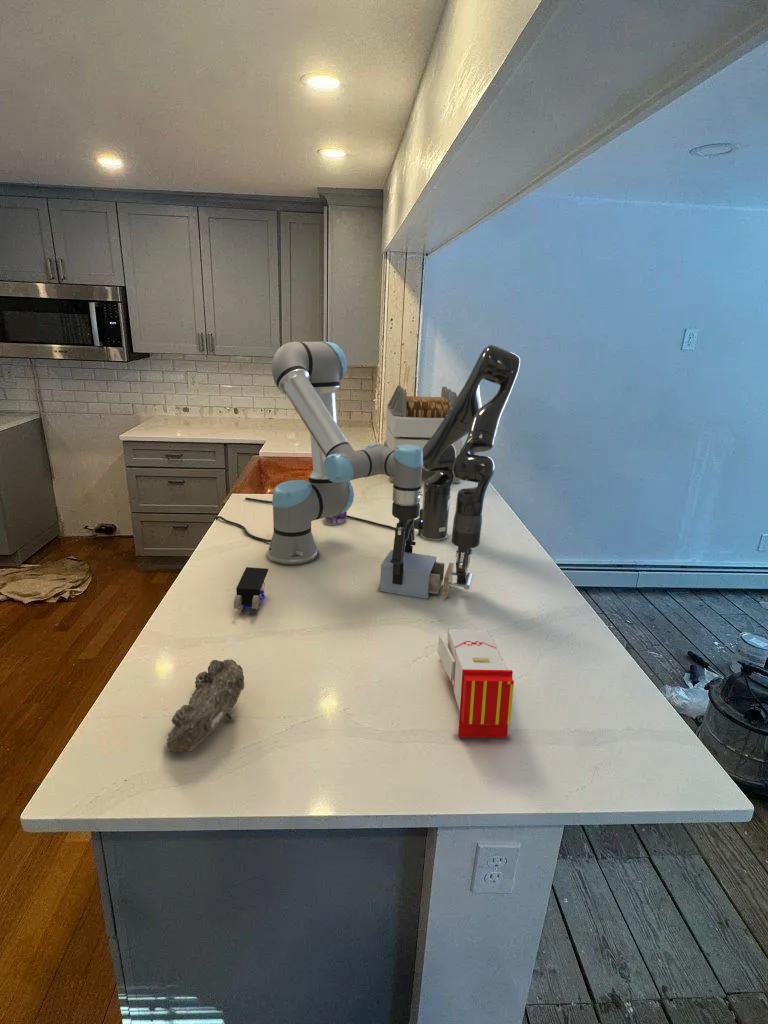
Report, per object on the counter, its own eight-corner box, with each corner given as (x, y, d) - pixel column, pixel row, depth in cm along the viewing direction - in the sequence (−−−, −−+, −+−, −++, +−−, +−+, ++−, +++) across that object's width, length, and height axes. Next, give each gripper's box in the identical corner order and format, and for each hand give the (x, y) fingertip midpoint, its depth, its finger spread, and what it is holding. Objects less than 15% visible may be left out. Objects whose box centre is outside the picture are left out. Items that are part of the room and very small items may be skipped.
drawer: (471, 585, 163) (473, 565, 161) (467, 601, 154) (469, 580, 152) (409, 575, 167) (411, 556, 165) (402, 590, 158) (403, 570, 156)
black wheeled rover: (260, 622, 143) (270, 588, 156) (258, 597, 140) (268, 565, 153) (233, 621, 143) (245, 588, 156) (231, 597, 139) (243, 564, 153)
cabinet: (434, 581, 166) (436, 556, 163) (427, 598, 156) (429, 572, 153) (389, 574, 169) (390, 549, 166) (379, 590, 159) (380, 565, 156)
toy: (488, 613, 130) (523, 677, 101) (484, 667, 133) (517, 744, 104) (435, 612, 130) (455, 676, 101) (432, 666, 133) (451, 743, 103)
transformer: (382, 463, 289) (386, 382, 275) (445, 464, 293) (451, 384, 279) (390, 482, 257) (394, 392, 243) (460, 483, 261) (468, 394, 247)
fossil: (192, 660, 117) (244, 628, 112) (224, 691, 120) (276, 661, 115) (142, 746, 98) (202, 712, 93) (182, 779, 101) (242, 748, 96)
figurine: (328, 527, 202) (328, 487, 197) (317, 518, 211) (318, 479, 206) (352, 524, 206) (353, 484, 201) (341, 515, 215) (342, 477, 210)
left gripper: (410, 518, 143) (406, 595, 150) (427, 491, 164) (422, 560, 172) (381, 514, 144) (378, 591, 152) (402, 488, 166) (398, 556, 173)
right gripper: (478, 538, 145) (471, 598, 151) (483, 521, 157) (476, 577, 163) (449, 534, 147) (443, 593, 153) (456, 517, 159) (450, 572, 165)
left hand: (402, 574), depth 162 cm, fingers closed on cabinet, 11 cm apart
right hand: (460, 584), depth 158 cm, fingers closed
